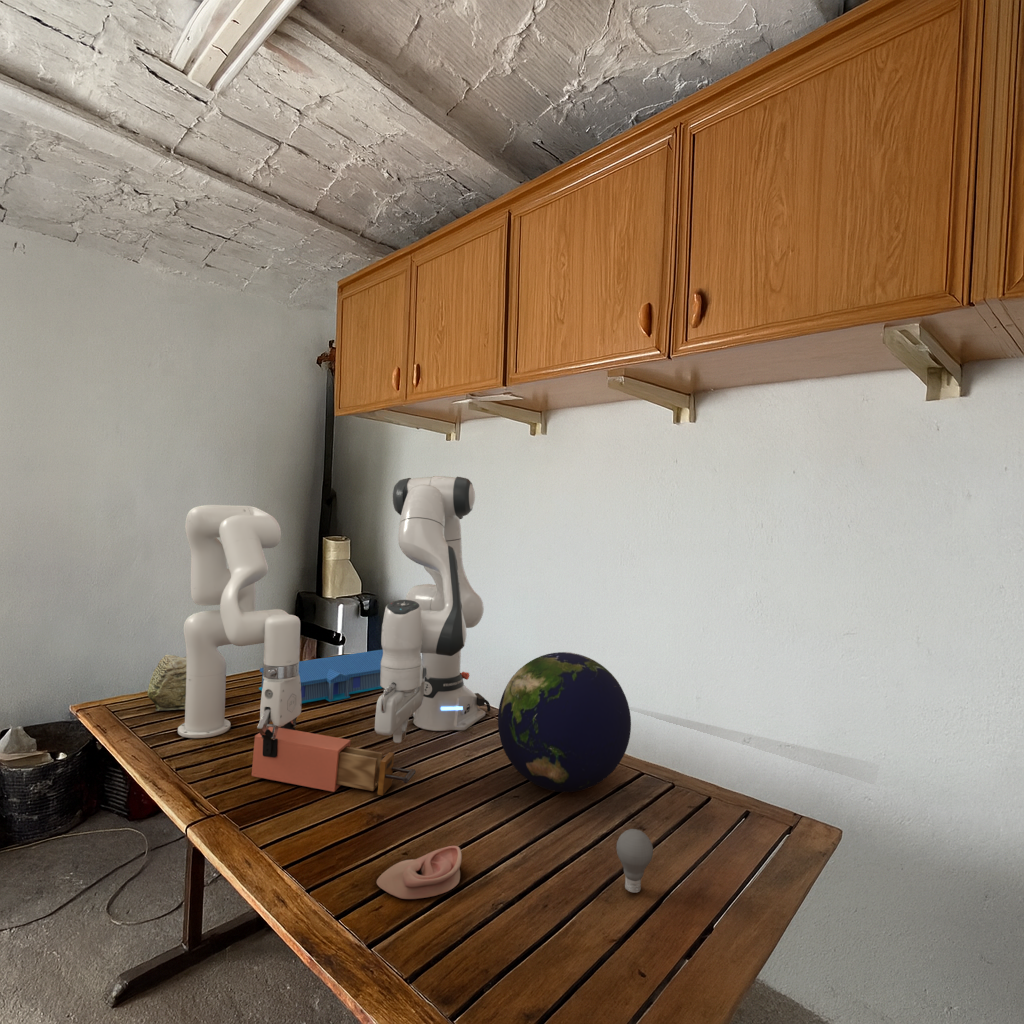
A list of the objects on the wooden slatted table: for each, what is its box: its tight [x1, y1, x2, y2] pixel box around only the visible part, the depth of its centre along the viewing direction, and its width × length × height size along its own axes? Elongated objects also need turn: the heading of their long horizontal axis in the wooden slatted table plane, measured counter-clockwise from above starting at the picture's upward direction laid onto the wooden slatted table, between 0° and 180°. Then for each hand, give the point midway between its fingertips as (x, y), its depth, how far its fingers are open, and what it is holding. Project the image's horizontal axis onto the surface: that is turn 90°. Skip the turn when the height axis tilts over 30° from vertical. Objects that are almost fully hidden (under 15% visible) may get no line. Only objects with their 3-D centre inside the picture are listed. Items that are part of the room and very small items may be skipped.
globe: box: [497, 651, 632, 793], centre depth 143 cm, size 30×30×30 cm
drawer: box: [336, 746, 417, 796], centre depth 138 cm, size 24×5×7 cm, turn 80°
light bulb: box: [615, 828, 654, 894], centre depth 106 cm, size 6×6×10 cm
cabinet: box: [251, 727, 352, 793], centre depth 141 cm, size 20×6×9 cm, turn 80°
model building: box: [258, 649, 383, 705], centre depth 208 cm, size 39×24×10 cm, turn 132°
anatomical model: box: [376, 845, 463, 900], centre depth 106 cm, size 13×4×12 cm
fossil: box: [147, 654, 187, 712], centre depth 185 cm, size 9×18×15 cm, turn 132°
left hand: (278, 749), depth 142 cm, fingers closed on cabinet, 6 cm apart
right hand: (399, 740), depth 137 cm, fingers closed
